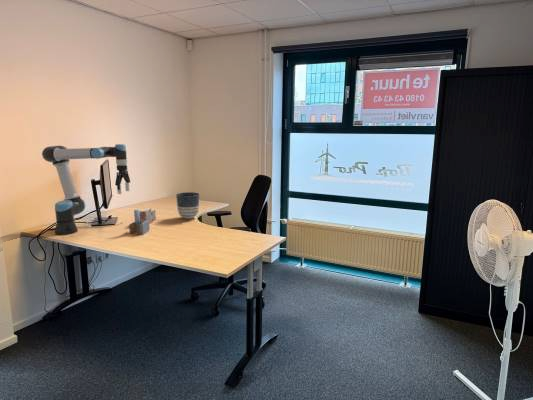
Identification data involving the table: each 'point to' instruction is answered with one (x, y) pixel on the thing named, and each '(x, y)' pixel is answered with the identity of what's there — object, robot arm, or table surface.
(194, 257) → the table surface
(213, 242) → the table surface
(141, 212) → the stack of blocks
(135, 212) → the dowel
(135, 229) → the slider block
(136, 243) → the table surface
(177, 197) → the planter
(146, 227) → the wall
